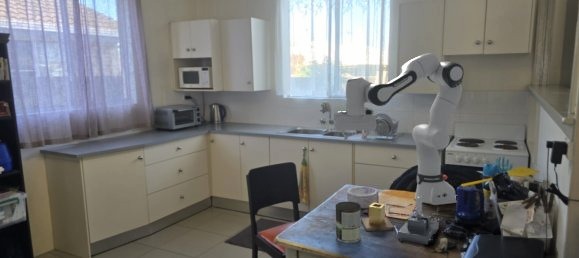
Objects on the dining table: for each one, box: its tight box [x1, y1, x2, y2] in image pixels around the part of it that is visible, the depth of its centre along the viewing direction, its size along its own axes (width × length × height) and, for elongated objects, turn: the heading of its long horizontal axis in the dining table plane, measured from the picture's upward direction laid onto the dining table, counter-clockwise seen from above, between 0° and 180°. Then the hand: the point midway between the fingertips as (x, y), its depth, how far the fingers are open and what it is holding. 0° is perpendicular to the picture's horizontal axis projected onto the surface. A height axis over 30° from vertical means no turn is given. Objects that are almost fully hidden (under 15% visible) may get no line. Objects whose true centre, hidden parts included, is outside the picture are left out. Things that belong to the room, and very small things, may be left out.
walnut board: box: [360, 216, 395, 232], centre depth 184 cm, size 12×12×1 cm
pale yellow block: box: [368, 202, 386, 226], centre depth 183 cm, size 5×5×8 cm
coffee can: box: [335, 201, 362, 244], centre depth 170 cm, size 10×10×14 cm
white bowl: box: [346, 186, 378, 209], centre depth 209 cm, size 15×15×8 cm
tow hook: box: [367, 190, 387, 216], centre depth 195 cm, size 8×13×9 cm
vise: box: [397, 196, 440, 246], centre depth 172 cm, size 18×12×16 cm, turn 147°
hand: (355, 139), depth 201 cm, fingers open, 8 cm apart
